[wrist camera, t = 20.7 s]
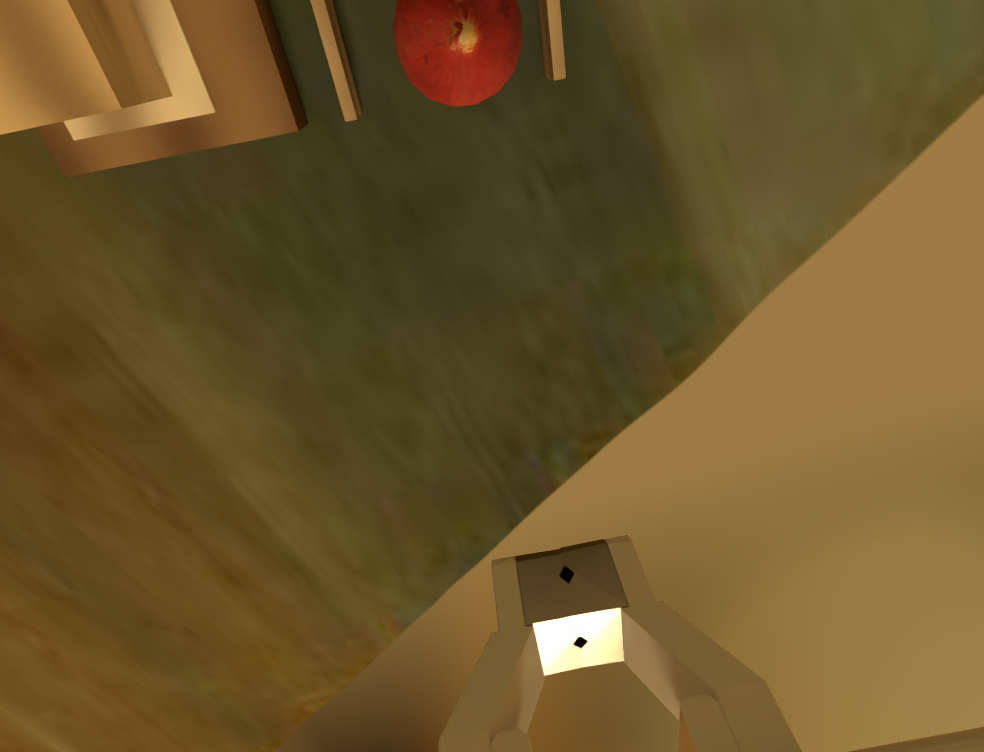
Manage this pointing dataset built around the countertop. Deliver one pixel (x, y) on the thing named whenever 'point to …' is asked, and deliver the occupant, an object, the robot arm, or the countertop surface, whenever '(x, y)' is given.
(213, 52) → the wooden tray
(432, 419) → the countertop surface
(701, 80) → the countertop surface
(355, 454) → the countertop surface
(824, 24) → the countertop surface
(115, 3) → the oak block
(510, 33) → the onion
